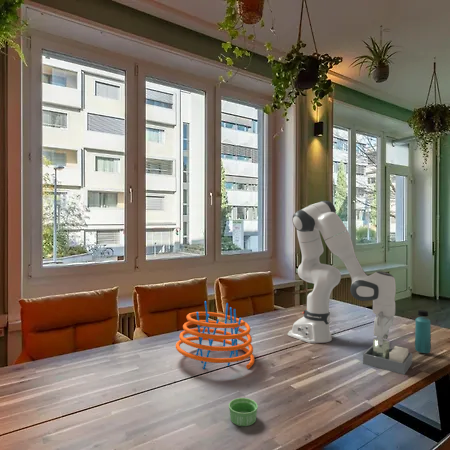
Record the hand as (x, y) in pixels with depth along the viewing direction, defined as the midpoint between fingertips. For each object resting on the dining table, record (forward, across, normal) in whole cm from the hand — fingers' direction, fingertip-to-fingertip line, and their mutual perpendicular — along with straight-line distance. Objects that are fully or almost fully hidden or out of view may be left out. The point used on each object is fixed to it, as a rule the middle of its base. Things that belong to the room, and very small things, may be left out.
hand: (383, 341), depth 150 cm
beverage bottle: (+9, +22, -12) cm, 27 cm away
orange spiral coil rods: (+10, -41, +60) cm, 73 cm away
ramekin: (+10, -72, +25) cm, 76 cm away
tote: (+9, -2, -2) cm, 10 cm away
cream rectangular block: (+8, -2, -7) cm, 11 cm away
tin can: (+8, -2, +1) cm, 8 cm away
